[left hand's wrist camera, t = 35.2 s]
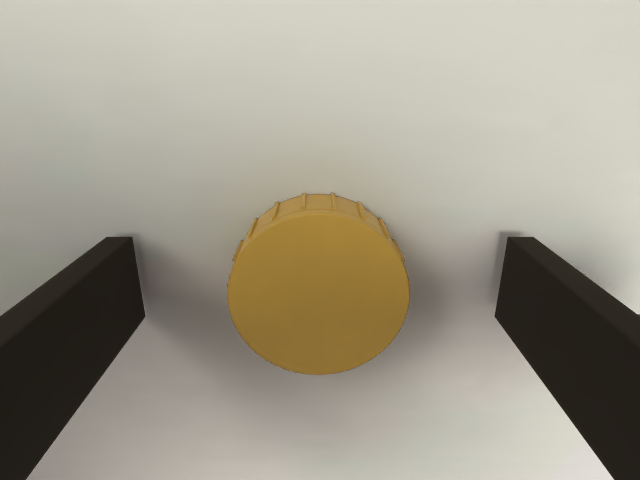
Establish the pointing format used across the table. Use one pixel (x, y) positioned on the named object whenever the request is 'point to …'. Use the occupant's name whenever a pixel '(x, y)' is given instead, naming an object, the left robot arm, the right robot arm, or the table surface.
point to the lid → (318, 285)
